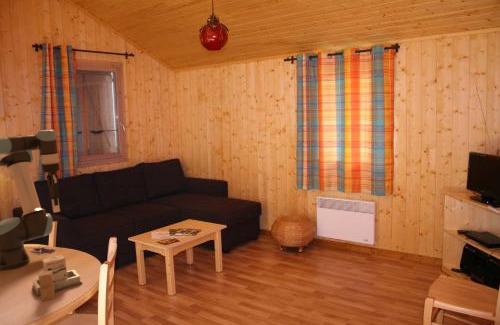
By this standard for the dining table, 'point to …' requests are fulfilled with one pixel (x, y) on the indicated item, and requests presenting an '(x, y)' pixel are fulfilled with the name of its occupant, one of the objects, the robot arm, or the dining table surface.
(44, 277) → the box
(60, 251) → the dining table surface
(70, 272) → the rail plate
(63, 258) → the ink box
